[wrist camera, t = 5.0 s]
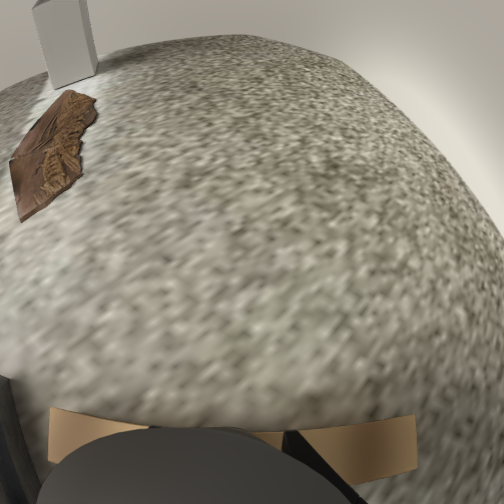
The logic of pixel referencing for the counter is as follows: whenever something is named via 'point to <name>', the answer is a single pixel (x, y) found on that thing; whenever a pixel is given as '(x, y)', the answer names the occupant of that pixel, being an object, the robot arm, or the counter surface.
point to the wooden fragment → (50, 153)
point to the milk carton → (65, 40)
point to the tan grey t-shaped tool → (214, 462)
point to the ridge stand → (14, 455)
